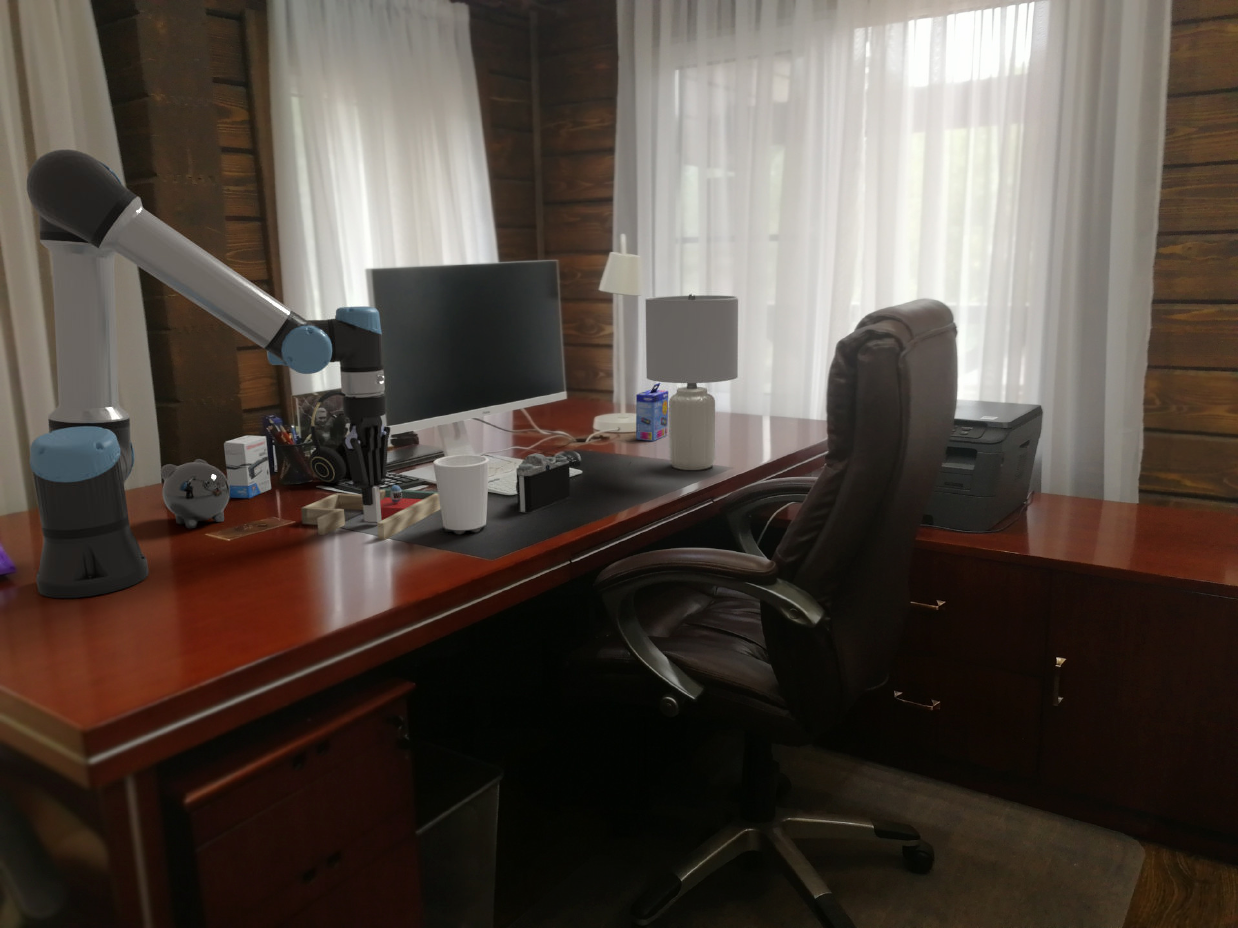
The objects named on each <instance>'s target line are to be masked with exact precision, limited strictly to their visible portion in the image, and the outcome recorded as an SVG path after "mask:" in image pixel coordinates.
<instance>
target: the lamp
mask: <svg viewBox="0 0 1238 928" xmlns="http://www.w3.org/2000/svg"><path fill="white" fill-rule="evenodd" d="M738 345H739V296H735V295H719V294H718V295H712V294H711V295H709V294H708V295H707V294H706V295H704V294H703V295H702V294H701V295H699V294H697V295H695V294H693V293H690V294H688V295H665V296H664V295H663V296H652V297H651V296H650V297H646V298H645V359H646V360H645V361H646V362H645V364H646V365H645V367H646V369H645V370H646V379H647V380H649V381H653V382H659V383H673V384H686V386H685V387H683V386H682V387H678V388H677V389H676V393H675V394H673V395H672V396H671V397H670V398H669V399H668V433H669V434H668V436H669V437H668V438H669V439H668V443H669V445H668V447H669V450H668V452H669V455H668V458H669V462H670V464H671V466H672V467H673V468H674V469H678V470H681V471H701V470H706V469H710V468H711V467H712V466H713V464H714V462H715V460H716V459H715V458H716V400H715V397H714V396H713V395H712V394H710V393H708V390H707V388H706V387H702V386H698V384H707V383H722V382H727V381H733V380H736V379H737V378H738V374H739V373H738V368H739V367H738V366H739V364H738V363H739V362H738V361H739V360H738V359H739V355H738V354H739V349H738V348H739V346H738Z"/></svg>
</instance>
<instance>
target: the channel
mask: <svg viewBox="0 0 1238 928" xmlns="http://www.w3.org/2000/svg"><path fill="white" fill-rule="evenodd" d="M401 490H402V498H406V499H423V500H421V501H419V502H417V503H415V504H413V505H411V506H409V507H407V508H405V509H404V510H402V511H400V512H398V513H396V514H394V515H392V516H390V517H388V518H386V519H384V520H381V521H379V522H376V525H377V538H378V540H384V541H385V540H387V539H389V538H390V537H393V536H394V535H396V534H398V533H400V532H401V531H403V530H405V529H407V528H409V527H410V526H412V525H415V524H416V523H418V522H420V521H421V520H423V519H426V518H427V517H429V516H430V515H432V514H434V513H436V512H438V511H441V507H440V501H439V495H438V491H431V490H430V491H429V490H428V491H427V490H416V489H415V490H413V489H401ZM390 491H391V488H380V500H382V499H384V498H386V497H388V498H391V496H390ZM362 500H363V499H362V494H355V493H353V494H352V493H342V492H341V493H340V492H336V493H334V494H331V495H328V496H326V497H324V498H322V499H319V500H317V501H315V502H313V503H310V504H307V505H305V506H303V507H301V508H300V510H301V511H300V512H301V522H302V523H301V524H302V525H314V526H317V531H318V535H321V536H325V535H327V534H329V533H331V532H334V531H336V530H338V529H339V528H341V527H344V526H346V522H347V521H349V520H351V519H354V518H355V517H356V518H357V516H360V515H361V514H364V511H363V501H362Z"/></svg>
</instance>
